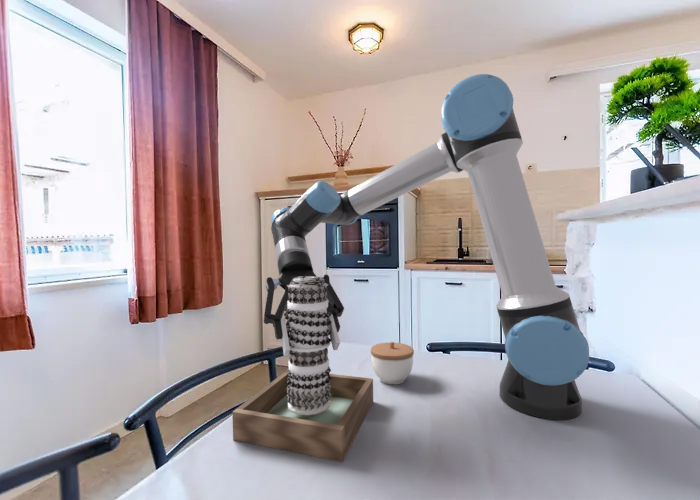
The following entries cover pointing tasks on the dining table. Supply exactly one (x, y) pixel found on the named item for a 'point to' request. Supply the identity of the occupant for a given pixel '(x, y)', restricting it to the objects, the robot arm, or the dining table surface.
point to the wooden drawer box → (305, 418)
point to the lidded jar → (392, 361)
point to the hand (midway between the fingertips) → (312, 349)
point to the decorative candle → (308, 346)
